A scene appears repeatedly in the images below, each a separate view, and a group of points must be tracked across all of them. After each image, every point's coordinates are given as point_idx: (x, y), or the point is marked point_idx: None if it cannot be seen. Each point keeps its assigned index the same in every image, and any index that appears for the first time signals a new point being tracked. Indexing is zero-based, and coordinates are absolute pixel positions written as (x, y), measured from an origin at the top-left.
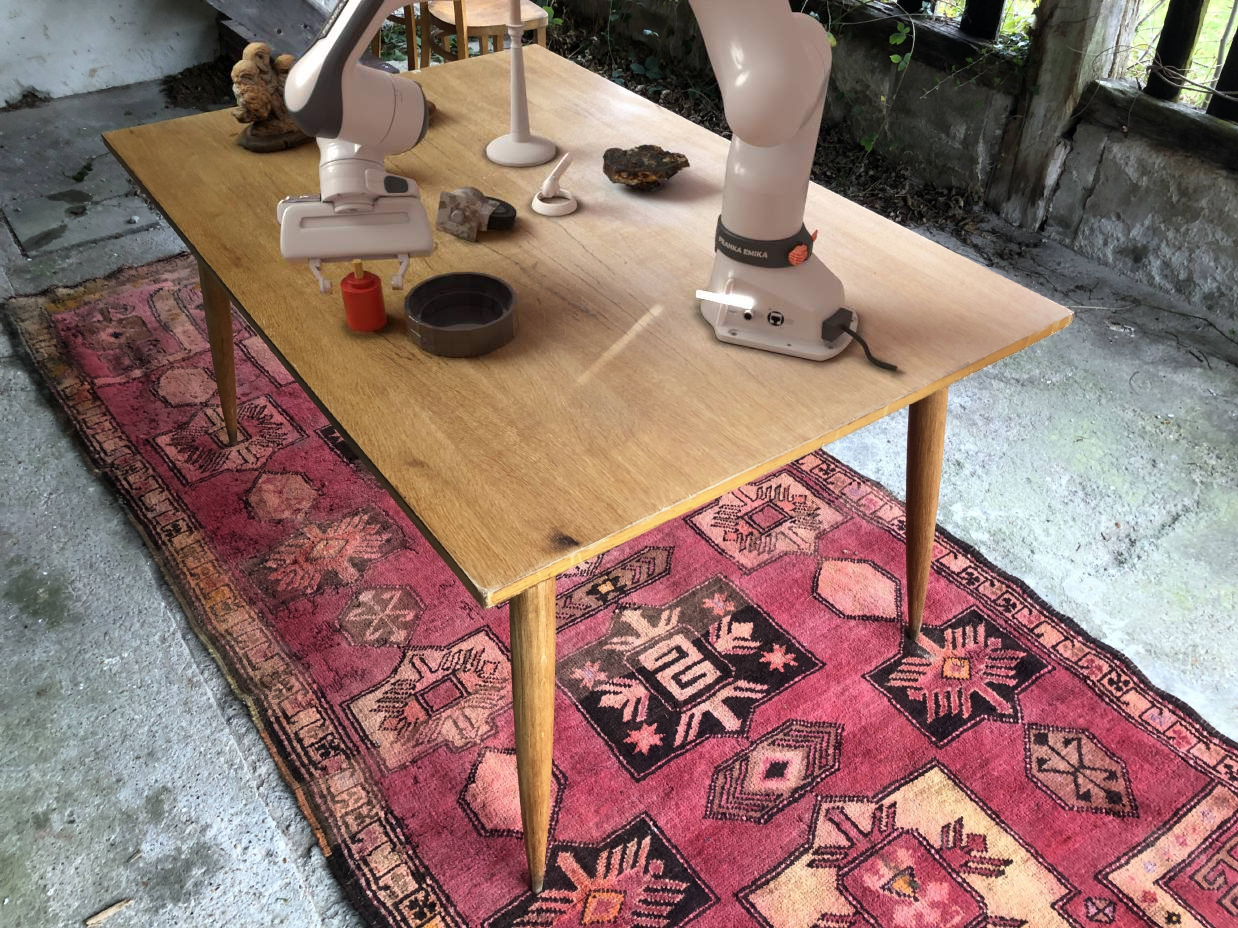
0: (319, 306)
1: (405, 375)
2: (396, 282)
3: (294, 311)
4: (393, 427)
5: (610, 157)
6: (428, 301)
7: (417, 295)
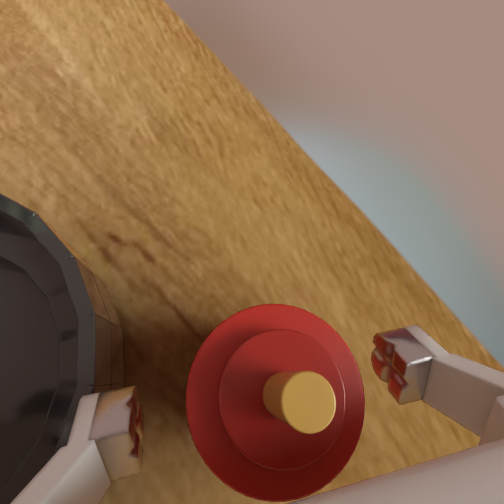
0: None
1: (120, 179)
2: (105, 402)
3: None
4: (129, 43)
5: None
6: (26, 462)
7: None
